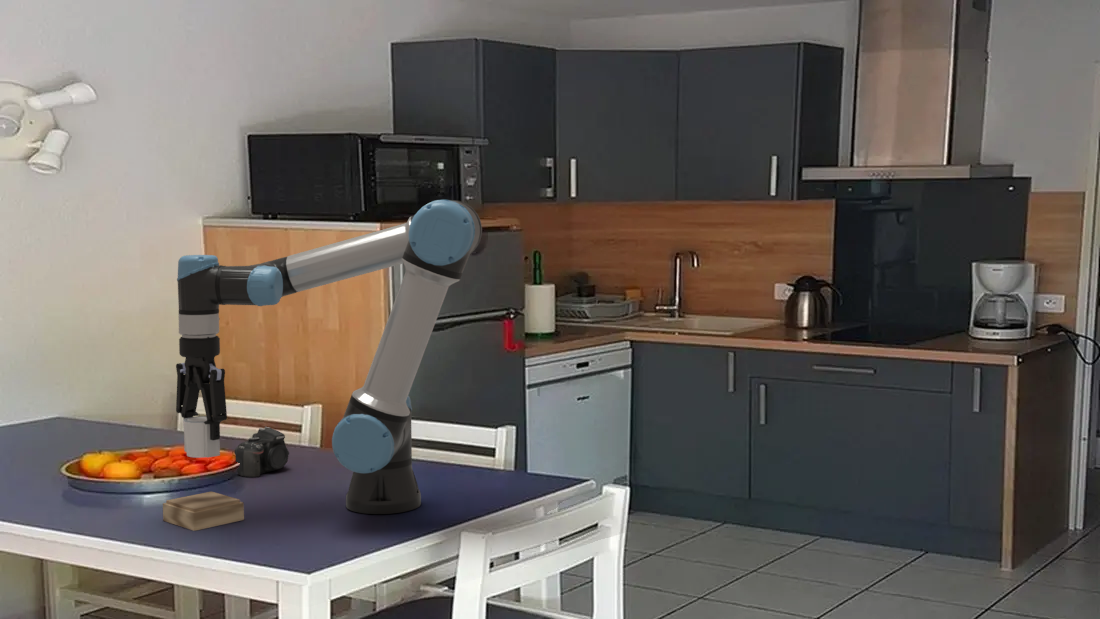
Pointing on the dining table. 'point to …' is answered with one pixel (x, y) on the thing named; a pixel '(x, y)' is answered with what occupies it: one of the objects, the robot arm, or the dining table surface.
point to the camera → (262, 453)
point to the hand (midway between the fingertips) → (202, 453)
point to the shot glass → (195, 436)
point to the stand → (203, 510)
